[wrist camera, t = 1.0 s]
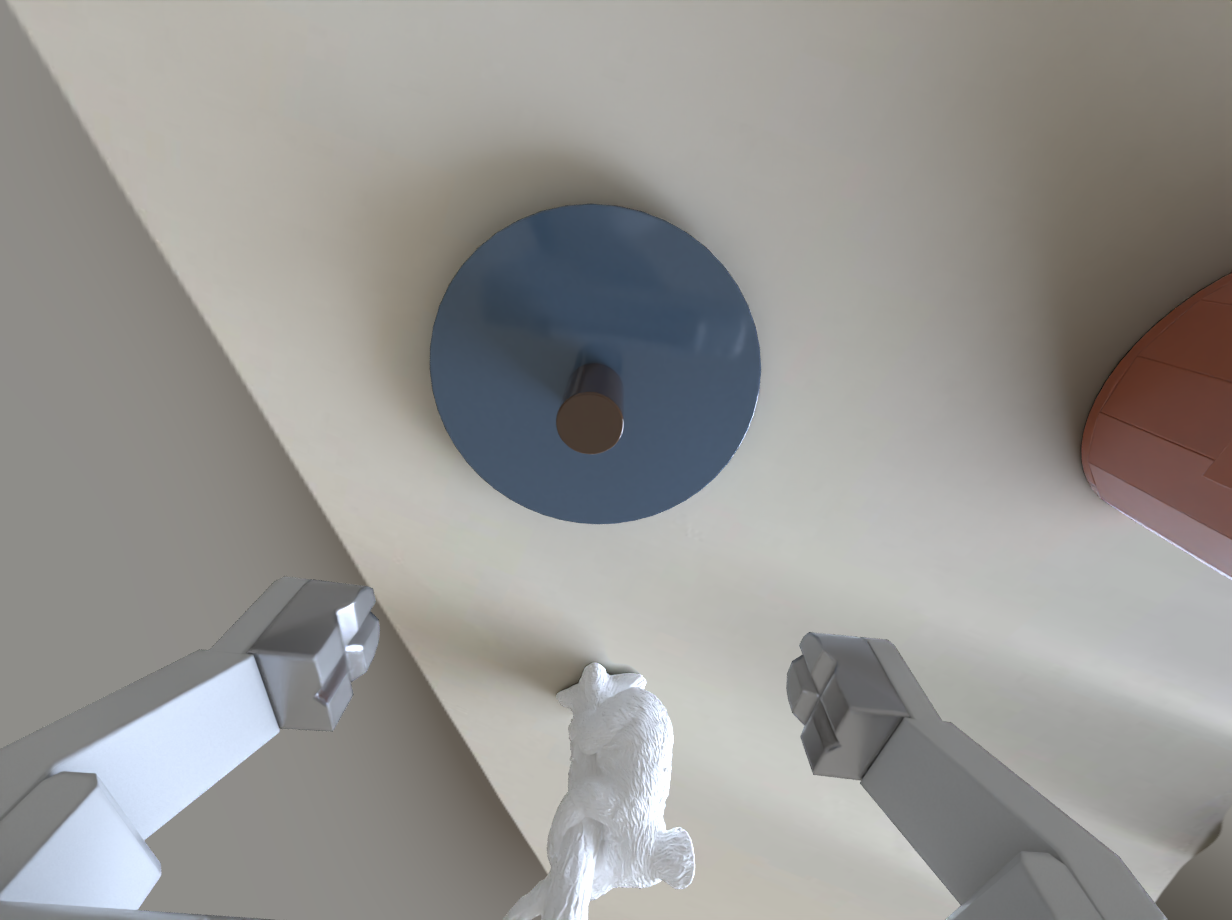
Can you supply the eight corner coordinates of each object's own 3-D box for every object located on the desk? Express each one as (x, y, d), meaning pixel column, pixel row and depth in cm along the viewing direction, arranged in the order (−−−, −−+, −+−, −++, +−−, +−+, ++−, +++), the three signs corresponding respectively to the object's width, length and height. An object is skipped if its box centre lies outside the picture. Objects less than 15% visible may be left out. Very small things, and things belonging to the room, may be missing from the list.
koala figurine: (542, 713, 31) (501, 969, 21) (542, 644, 28) (494, 903, 18) (667, 720, 32) (690, 977, 21) (681, 652, 28) (716, 914, 18)
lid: (430, 177, 17) (367, 167, 13) (796, 232, 18) (849, 239, 13) (445, 493, 23) (407, 555, 19) (713, 524, 24) (732, 590, 20)
